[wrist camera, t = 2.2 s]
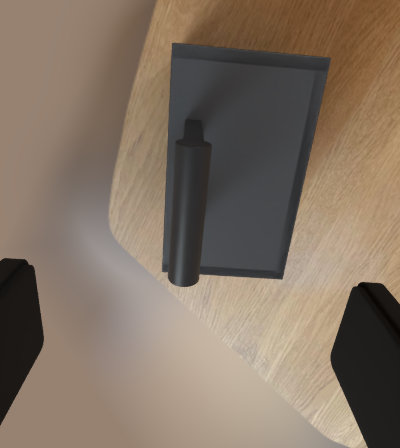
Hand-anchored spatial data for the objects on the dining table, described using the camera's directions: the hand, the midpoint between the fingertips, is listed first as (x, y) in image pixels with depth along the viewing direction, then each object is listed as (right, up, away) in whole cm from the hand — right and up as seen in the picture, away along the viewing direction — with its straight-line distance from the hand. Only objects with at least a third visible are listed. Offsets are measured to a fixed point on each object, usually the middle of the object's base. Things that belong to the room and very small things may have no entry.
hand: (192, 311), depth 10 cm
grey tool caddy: (+7, +6, +14) cm, 17 cm away
